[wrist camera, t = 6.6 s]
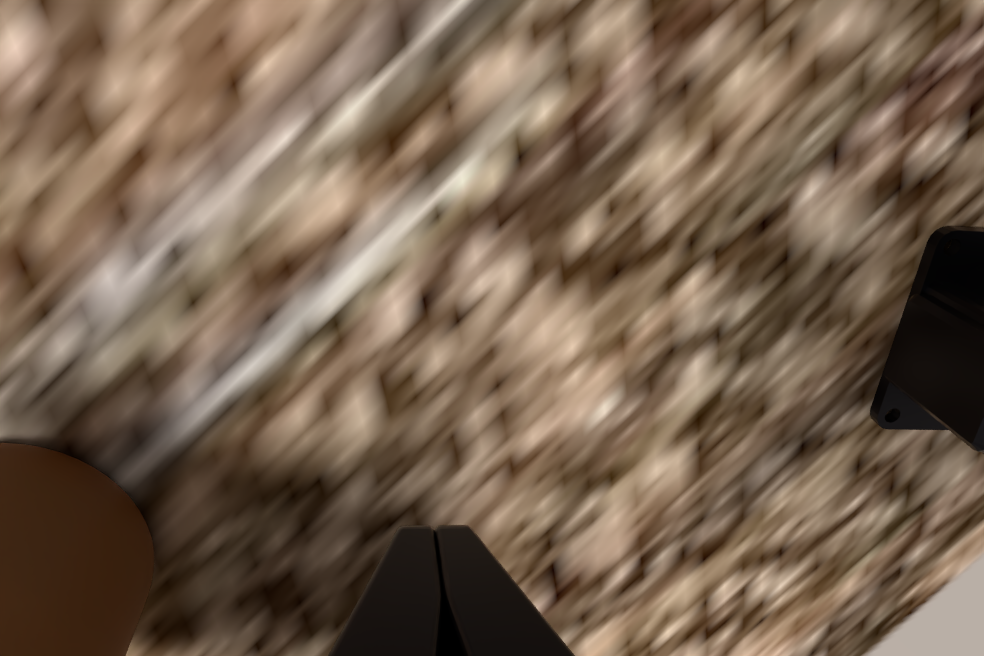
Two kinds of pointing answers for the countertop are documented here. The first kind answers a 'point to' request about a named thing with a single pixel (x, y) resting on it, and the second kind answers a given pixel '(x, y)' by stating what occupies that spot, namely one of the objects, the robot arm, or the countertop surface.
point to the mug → (68, 557)
